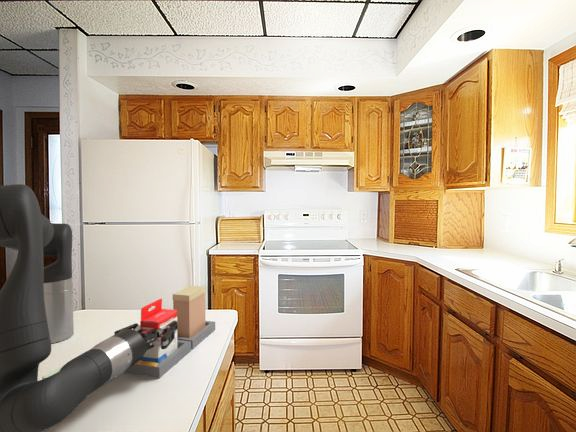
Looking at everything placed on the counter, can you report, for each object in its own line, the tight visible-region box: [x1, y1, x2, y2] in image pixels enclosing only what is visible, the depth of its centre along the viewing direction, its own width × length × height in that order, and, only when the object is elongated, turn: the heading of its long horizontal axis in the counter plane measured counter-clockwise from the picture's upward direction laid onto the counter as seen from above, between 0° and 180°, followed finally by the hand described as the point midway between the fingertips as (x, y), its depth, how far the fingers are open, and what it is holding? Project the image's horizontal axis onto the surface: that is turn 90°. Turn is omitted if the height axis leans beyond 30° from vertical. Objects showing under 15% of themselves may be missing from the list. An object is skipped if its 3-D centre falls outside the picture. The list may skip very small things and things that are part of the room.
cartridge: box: [172, 285, 207, 338], centre depth 91 cm, size 5×9×14 cm, turn 167°
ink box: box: [139, 297, 177, 364], centre depth 77 cm, size 8×5×15 cm, turn 169°
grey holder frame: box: [123, 320, 216, 379], centre depth 84 cm, size 9×27×3 cm, turn 167°
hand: (166, 323), depth 80 cm, fingers closed on ink box, 5 cm apart
